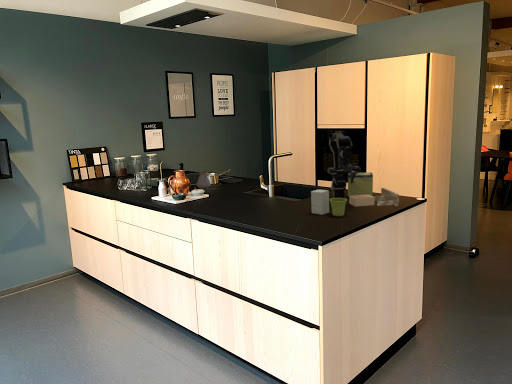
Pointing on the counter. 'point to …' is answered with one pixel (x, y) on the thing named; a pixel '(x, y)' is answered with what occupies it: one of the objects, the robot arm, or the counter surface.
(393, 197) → the display nook
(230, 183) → the counter surface
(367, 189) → the protein box
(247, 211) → the counter surface
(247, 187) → the counter surface
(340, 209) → the plant pot
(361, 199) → the beige rectangular block
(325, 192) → the supplement box
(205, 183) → the coffee pot
